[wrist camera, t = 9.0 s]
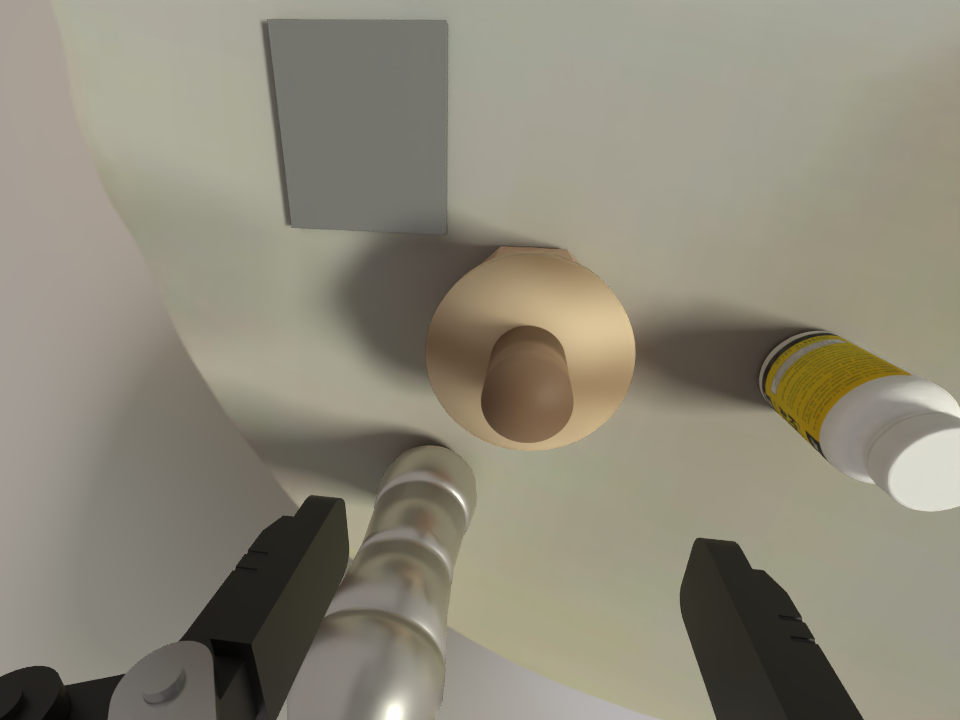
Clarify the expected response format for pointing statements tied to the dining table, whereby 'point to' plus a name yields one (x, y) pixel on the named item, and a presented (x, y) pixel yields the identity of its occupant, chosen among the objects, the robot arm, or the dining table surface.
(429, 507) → the plastic bottle
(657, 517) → the dining table surface
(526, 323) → the lid
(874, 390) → the supplement bottle
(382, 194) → the mat
